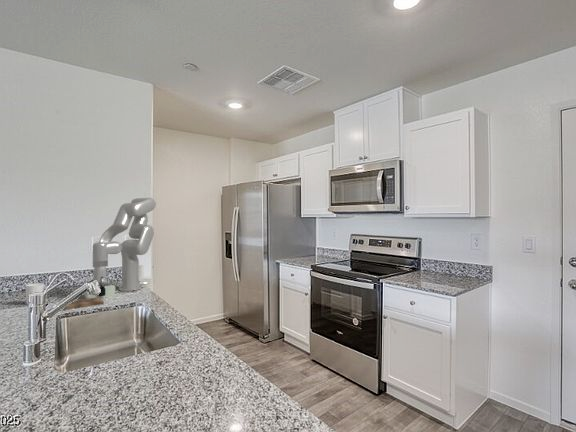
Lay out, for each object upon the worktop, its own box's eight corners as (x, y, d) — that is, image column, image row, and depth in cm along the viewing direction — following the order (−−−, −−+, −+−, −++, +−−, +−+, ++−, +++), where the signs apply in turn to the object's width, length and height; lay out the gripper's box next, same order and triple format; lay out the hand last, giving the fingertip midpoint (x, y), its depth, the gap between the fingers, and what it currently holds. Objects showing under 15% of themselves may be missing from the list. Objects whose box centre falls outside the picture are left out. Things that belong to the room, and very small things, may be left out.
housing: (112, 294, 188) (112, 285, 188) (115, 296, 184) (115, 286, 184) (84, 298, 179) (84, 288, 179) (87, 300, 174) (87, 290, 174)
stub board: (98, 299, 175) (98, 290, 175) (103, 303, 166) (103, 294, 166) (53, 306, 162) (53, 296, 162) (56, 311, 153) (56, 300, 153)
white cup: (35, 305, 165) (35, 285, 165) (21, 305, 165) (21, 286, 165) (47, 301, 173) (47, 283, 173) (33, 301, 173) (33, 283, 173)
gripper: (89, 263, 186) (89, 293, 185) (95, 266, 173) (95, 298, 172) (104, 262, 191) (104, 291, 190) (111, 264, 178) (111, 296, 177)
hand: (100, 294), depth 181 cm, fingers open, 8 cm apart
